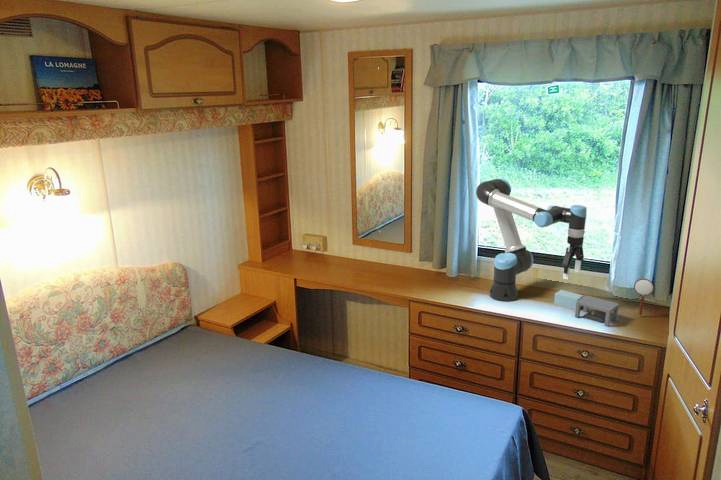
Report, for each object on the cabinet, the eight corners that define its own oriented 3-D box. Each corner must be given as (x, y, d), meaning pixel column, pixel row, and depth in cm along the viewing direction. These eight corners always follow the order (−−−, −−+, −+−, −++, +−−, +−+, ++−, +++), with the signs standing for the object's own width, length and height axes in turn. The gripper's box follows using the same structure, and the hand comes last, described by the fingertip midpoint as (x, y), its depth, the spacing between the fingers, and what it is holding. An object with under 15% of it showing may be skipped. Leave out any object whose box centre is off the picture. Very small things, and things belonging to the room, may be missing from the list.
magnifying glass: (649, 317, 260) (655, 279, 254) (649, 319, 258) (655, 280, 253) (630, 314, 264) (635, 276, 259) (629, 315, 263) (635, 277, 257)
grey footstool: (574, 317, 262) (576, 301, 260) (584, 310, 270) (586, 295, 268) (607, 326, 252) (609, 310, 249) (617, 319, 259) (619, 303, 257)
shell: (554, 303, 278) (555, 293, 277) (560, 300, 283) (561, 289, 281) (576, 310, 270) (577, 299, 269) (582, 306, 275) (583, 295, 273)
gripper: (572, 242, 255) (567, 283, 261) (593, 232, 272) (588, 271, 278) (557, 239, 260) (553, 280, 266) (579, 229, 277) (574, 267, 283)
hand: (571, 275), depth 272 cm, fingers open, 13 cm apart
